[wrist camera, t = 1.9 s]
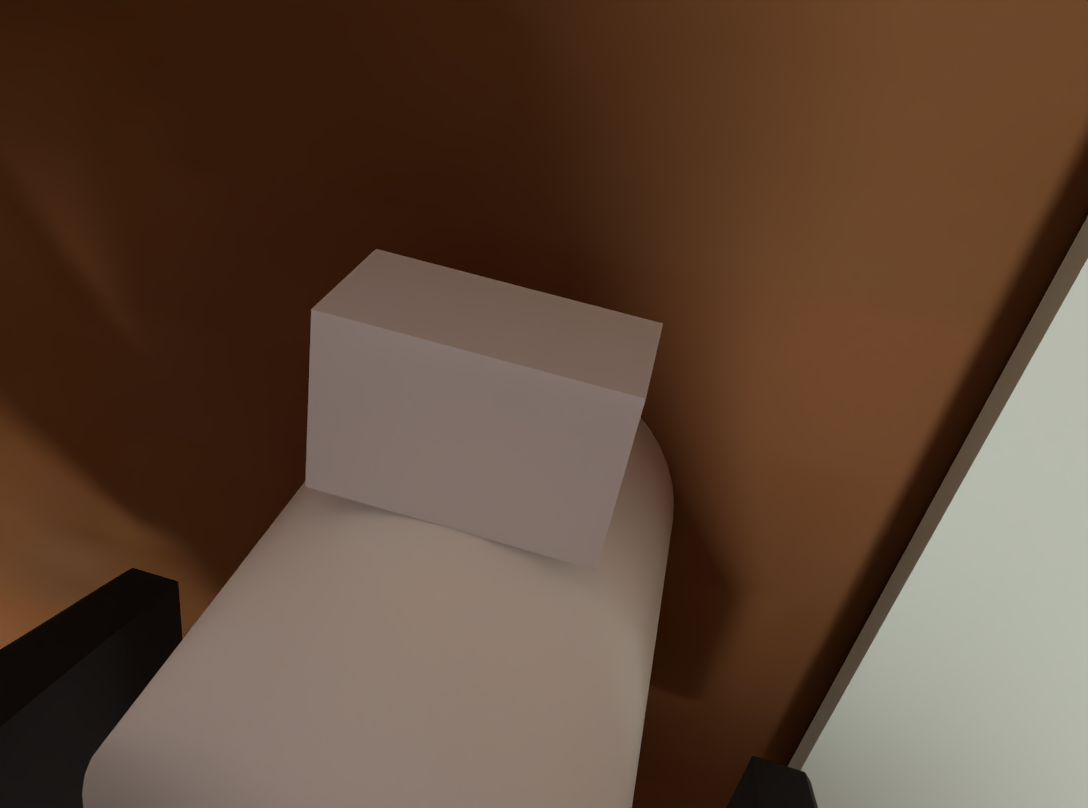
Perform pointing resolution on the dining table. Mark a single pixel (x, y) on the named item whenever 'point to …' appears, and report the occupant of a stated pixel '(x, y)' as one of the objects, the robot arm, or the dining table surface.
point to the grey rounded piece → (431, 572)
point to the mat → (983, 607)
